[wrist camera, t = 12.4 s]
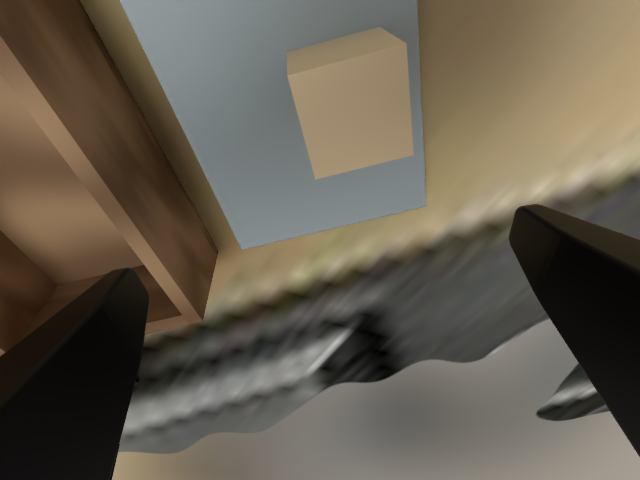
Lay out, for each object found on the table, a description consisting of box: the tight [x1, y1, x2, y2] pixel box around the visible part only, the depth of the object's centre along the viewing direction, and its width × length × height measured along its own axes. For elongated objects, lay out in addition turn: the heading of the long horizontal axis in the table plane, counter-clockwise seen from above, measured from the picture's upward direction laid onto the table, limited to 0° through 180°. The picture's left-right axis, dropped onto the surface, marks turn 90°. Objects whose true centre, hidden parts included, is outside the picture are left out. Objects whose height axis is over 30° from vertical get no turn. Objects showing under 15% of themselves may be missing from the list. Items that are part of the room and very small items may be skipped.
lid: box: [119, 0, 426, 250], centre depth 15 cm, size 15×11×6 cm
